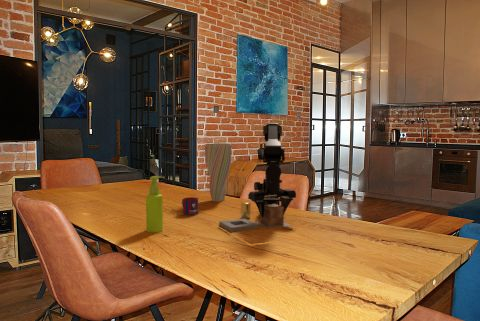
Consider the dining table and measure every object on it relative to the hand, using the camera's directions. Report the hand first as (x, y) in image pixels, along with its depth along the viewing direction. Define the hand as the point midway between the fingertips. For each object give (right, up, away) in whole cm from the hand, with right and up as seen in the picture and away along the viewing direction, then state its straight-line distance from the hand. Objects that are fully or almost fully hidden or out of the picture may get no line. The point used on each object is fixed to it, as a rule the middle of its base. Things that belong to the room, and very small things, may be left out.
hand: (272, 216), depth 151 cm
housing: (0, -3, 0) cm, 3 cm away
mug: (-35, -2, +22) cm, 41 cm away
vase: (-24, +1, +53) cm, 58 cm away
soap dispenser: (-44, -4, -8) cm, 45 cm away
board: (0, -3, 0) cm, 3 cm away
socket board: (-13, -4, -5) cm, 14 cm away
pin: (-10, -3, +10) cm, 14 cm away
